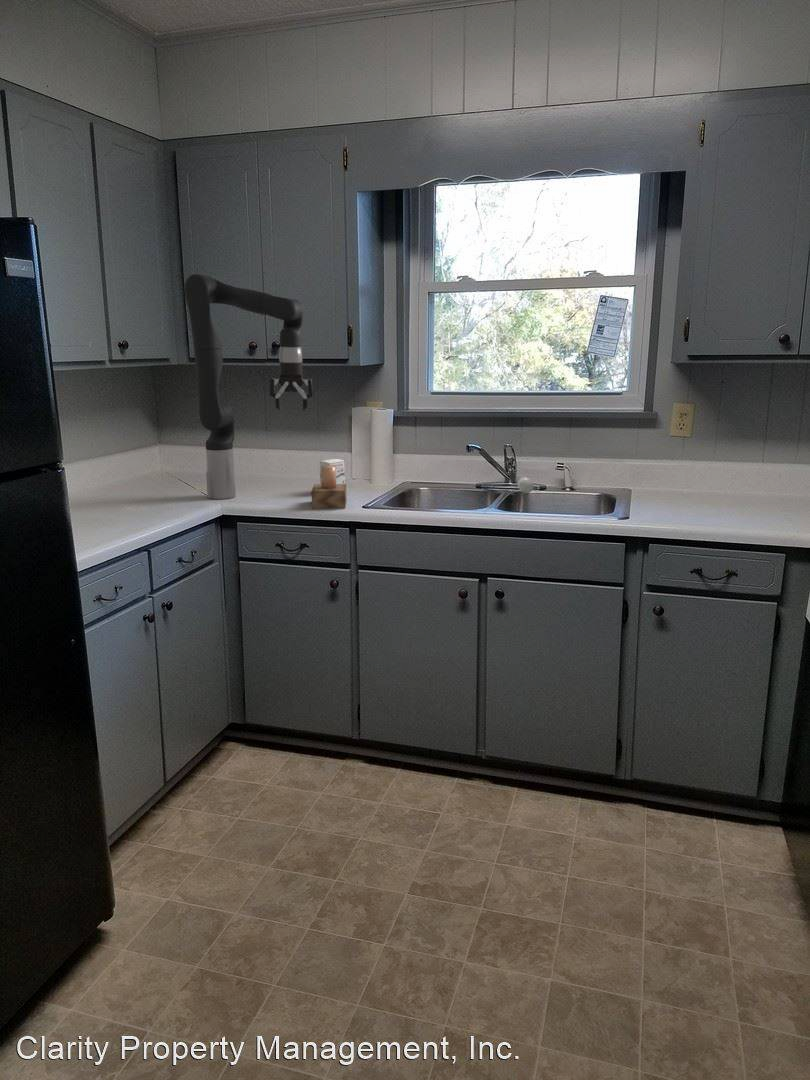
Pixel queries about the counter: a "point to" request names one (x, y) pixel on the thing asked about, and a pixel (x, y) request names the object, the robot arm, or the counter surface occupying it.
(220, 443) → the robot arm
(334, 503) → the walnut pedestal
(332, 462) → the ink box
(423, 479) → the counter surface
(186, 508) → the counter surface
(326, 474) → the terracotta canister
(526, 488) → the off-white ball
